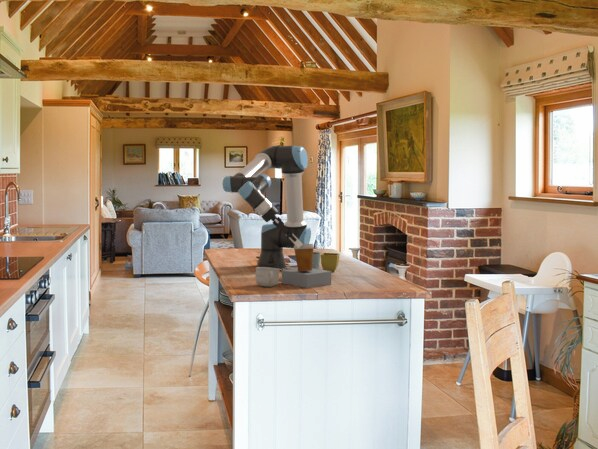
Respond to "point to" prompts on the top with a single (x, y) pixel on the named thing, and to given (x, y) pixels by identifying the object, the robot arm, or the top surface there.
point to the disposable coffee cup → (304, 257)
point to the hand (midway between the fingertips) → (299, 244)
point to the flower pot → (329, 261)
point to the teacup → (267, 276)
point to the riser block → (306, 277)
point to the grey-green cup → (316, 260)
